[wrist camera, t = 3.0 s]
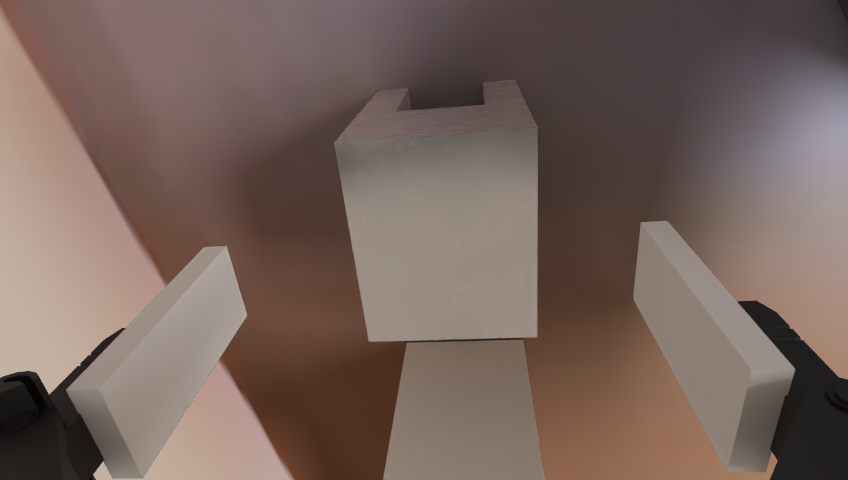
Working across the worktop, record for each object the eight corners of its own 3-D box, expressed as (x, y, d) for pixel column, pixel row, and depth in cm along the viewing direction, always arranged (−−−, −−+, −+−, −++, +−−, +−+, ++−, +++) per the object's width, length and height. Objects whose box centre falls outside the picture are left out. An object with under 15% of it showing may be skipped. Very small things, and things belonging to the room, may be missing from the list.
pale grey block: (377, 90, 25) (333, 142, 17) (514, 79, 24) (537, 127, 16) (397, 239, 28) (368, 341, 20) (517, 233, 27) (537, 336, 19)
